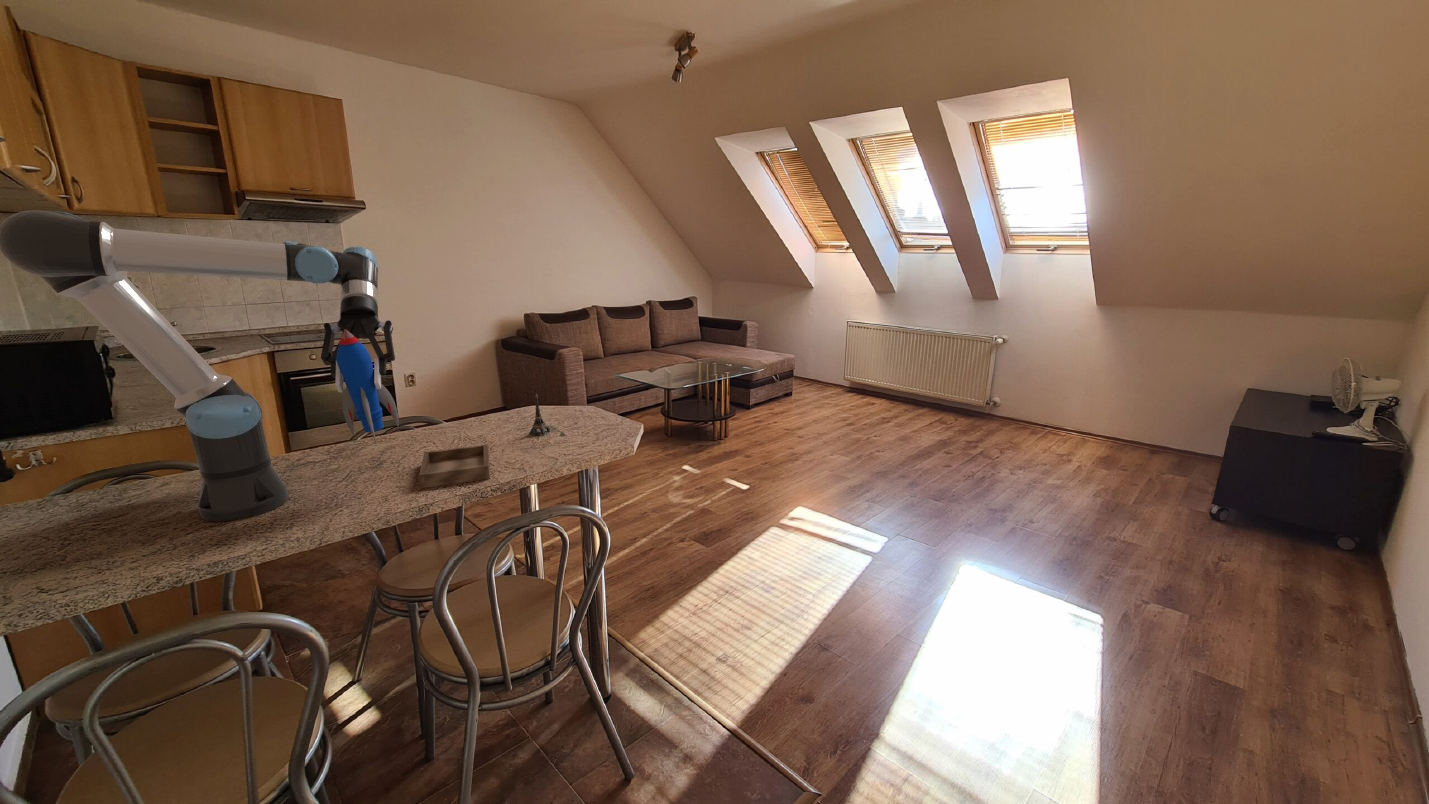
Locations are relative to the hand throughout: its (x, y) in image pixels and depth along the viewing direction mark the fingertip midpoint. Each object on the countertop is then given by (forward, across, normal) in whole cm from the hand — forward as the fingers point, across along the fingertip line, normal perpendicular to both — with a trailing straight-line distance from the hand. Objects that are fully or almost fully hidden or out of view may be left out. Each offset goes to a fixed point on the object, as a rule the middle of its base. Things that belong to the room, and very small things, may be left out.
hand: (358, 387), depth 126 cm
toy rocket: (+6, 0, -11) cm, 13 cm away
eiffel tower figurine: (-2, -39, -38) cm, 54 cm away
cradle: (+13, -17, -21) cm, 30 cm away
